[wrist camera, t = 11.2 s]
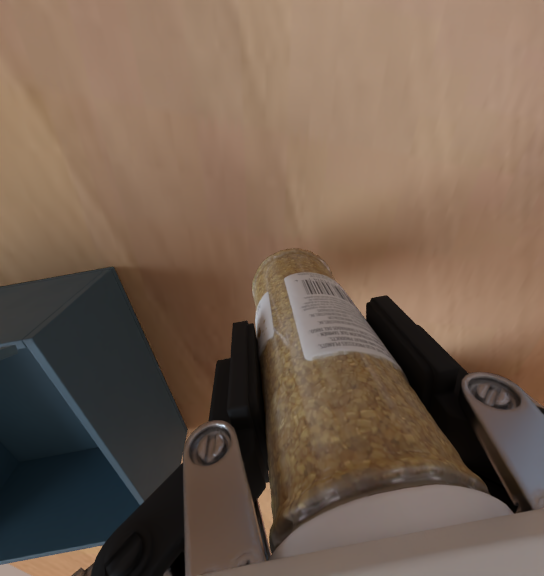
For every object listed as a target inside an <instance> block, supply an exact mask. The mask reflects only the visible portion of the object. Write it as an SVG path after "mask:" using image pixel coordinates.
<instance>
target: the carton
mask: <svg viewBox="0 0 544 576" xmlns="http://www.w3.org/2000/svg"><path fill="white" fill-rule="evenodd" d="M10 345H16V347H17V351H18V353H17V354H15V355H13V356H10V357H8V358H5V359H3V360H0V565H1V564H7V563H12V562H17V561H23V560H28V559H33V558H38V557H44V556H49V555H54V554H59V553H65V552H70V551H75V550H80V549H86V548H91V547H96V546H101V545H104V543H105V542H106V541H107V539H108V538H109V537H110V536H111V535H112V534H113V532H114V531H115V530H116V529H117V528H118V527H119V526H120V525H121V524H122V523H123V522H124V521H125V520H126V519H127V518H128V517H129V516H130V515H131V514H132V513H133V512H134V511H135V510H136V509H137V508H138V507H139V506H140V505H141V504H142V503H143V502H144V501H145V500H146V499H147V498H148V497H149V496H150V495H151V494H152V493H153V492H154V491H155V490H156V489H157V488H158V487H159V486H160V485H161V484H162V483H163V482H164V481H165V480H166V479H167V478H168V477H169V476H170V475H171V474H172V473H173V472H174V471H175V470H176V469H177V468H178V467H179V466H180V464H181V460H182V455H183V449H184V445H185V440H186V435H187V430H188V429H187V427H186V425H185V423H184V421H183V418H182V416H181V414H180V412H179V410H178V407H177V405H176V403H175V401H174V399H173V396H172V394H171V392H170V390H169V388H168V385H167V383H166V381H165V379H164V377H163V374H162V372H161V370H160V368H159V366H158V363H157V361H156V359H155V357H154V355H153V352H152V350H151V348H150V346H149V344H148V341H147V339H146V337H145V335H144V333H143V330H142V328H141V326H140V324H139V322H138V319H137V317H136V315H135V313H134V311H133V308H132V306H131V304H130V302H129V300H128V297H127V295H126V293H125V291H124V288H123V286H122V284H121V282H120V280H119V277H118V275H117V273H116V271H115V269H114V267H108V268H103V269H97V270H92V271H86V272H80V273H75V274H69V275H64V276H58V277H52V278H47V279H41V280H36V281H30V282H24V283H19V284H13V285H8V286H2V287H0V347H4V346H10Z"/></svg>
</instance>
